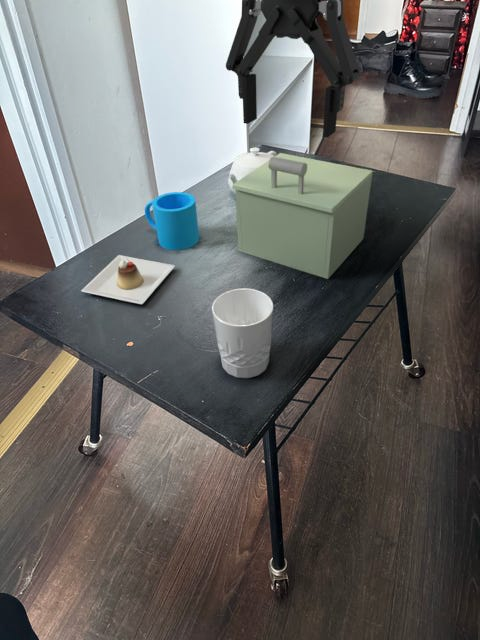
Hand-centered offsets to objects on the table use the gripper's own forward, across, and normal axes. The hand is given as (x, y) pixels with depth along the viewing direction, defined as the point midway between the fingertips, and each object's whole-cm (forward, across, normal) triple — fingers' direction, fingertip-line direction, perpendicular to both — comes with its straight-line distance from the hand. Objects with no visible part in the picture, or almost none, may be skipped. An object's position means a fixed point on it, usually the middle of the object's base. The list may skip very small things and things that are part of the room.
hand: (288, 127), depth 72 cm
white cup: (+24, +8, -26) cm, 36 cm away
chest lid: (+11, 0, +6) cm, 12 cm away
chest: (+24, 0, +6) cm, 24 cm away
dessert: (+24, -20, -20) cm, 37 cm away
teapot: (+24, -20, +21) cm, 38 cm away
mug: (+24, -24, -4) cm, 34 cm away
